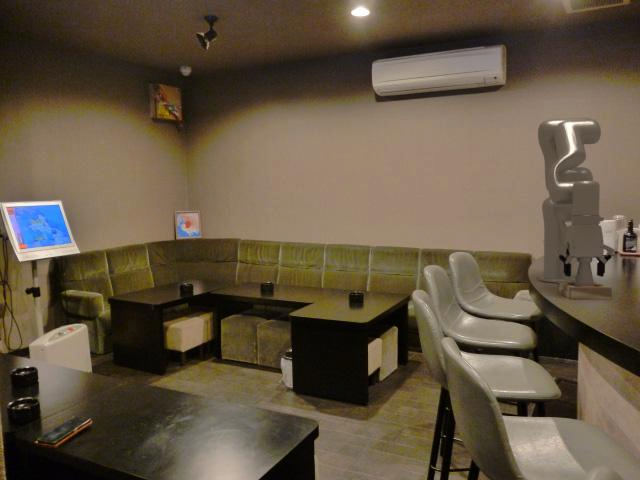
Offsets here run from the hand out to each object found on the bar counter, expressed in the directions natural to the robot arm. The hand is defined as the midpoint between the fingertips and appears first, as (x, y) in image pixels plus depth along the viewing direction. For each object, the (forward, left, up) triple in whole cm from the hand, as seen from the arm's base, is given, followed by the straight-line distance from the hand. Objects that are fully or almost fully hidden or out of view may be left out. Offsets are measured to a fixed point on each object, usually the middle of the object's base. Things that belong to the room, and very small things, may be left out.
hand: (583, 276), depth 158 cm
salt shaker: (0, 0, -6) cm, 7 cm away
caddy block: (0, 0, -6) cm, 6 cm away
